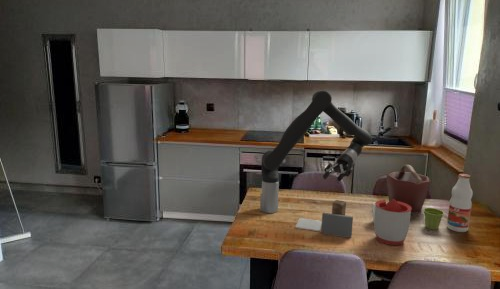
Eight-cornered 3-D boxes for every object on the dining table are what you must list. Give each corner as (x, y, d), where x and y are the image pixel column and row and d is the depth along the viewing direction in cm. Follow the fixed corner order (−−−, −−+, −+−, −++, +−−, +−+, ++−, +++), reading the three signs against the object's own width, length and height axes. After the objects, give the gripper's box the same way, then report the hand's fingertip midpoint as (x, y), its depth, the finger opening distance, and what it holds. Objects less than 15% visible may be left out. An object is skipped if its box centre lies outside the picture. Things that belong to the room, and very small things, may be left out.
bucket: (427, 218, 197) (432, 173, 193) (383, 212, 205) (388, 168, 200) (423, 203, 220) (428, 162, 215) (384, 198, 227) (387, 159, 223)
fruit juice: (471, 229, 184) (479, 175, 179) (462, 234, 179) (470, 178, 173) (451, 223, 191) (458, 171, 186) (443, 227, 186) (450, 174, 180)
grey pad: (295, 227, 182) (295, 226, 182) (299, 218, 193) (299, 217, 193) (319, 231, 178) (319, 230, 178) (322, 222, 190) (322, 221, 190)
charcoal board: (321, 233, 176) (322, 213, 175) (321, 232, 178) (322, 212, 176) (351, 237, 172) (352, 217, 170) (351, 236, 174) (353, 216, 172)
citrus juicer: (404, 233, 178) (408, 194, 174) (411, 249, 162) (415, 206, 158) (370, 229, 182) (373, 191, 178) (373, 245, 165) (377, 203, 161)
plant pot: (440, 225, 189) (442, 209, 187) (443, 232, 180) (445, 215, 178) (420, 222, 192) (422, 206, 190) (422, 229, 183) (424, 213, 181)
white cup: (388, 226, 186) (390, 207, 184) (372, 224, 188) (374, 206, 186) (386, 220, 194) (388, 202, 192) (370, 219, 195) (372, 201, 193)
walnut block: (330, 229, 181) (332, 202, 178) (334, 226, 185) (336, 199, 182) (340, 232, 178) (342, 204, 176) (344, 228, 182) (346, 201, 180)
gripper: (333, 152, 195) (316, 171, 186) (356, 154, 184) (340, 174, 176) (338, 163, 198) (322, 183, 190) (361, 165, 187) (345, 186, 179)
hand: (330, 179), depth 183 cm, fingers open, 8 cm apart
